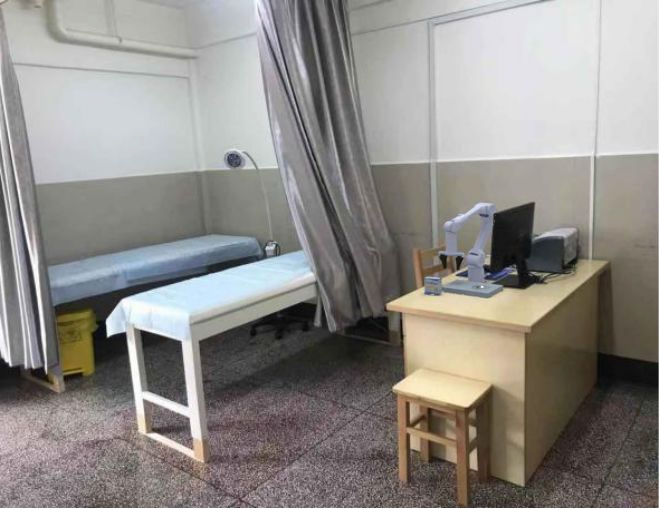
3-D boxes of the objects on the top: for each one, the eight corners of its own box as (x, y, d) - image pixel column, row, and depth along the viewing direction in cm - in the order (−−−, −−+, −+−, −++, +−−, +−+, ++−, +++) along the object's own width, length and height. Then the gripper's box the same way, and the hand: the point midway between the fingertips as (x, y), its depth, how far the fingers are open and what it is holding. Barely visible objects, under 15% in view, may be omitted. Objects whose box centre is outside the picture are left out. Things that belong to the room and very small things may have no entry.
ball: (482, 284, 282) (487, 286, 279) (481, 291, 282) (486, 292, 280) (477, 284, 280) (483, 286, 277) (476, 291, 280) (482, 293, 278)
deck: (440, 291, 285) (440, 286, 285) (457, 284, 299) (457, 279, 298) (488, 298, 269) (488, 293, 268) (503, 290, 282) (503, 285, 281)
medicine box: (424, 294, 281) (424, 278, 280) (427, 292, 285) (426, 276, 284) (439, 295, 278) (439, 279, 276) (441, 293, 282) (441, 277, 280)
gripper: (435, 244, 289) (435, 269, 292) (460, 246, 280) (460, 272, 283) (441, 242, 295) (442, 266, 297) (466, 244, 285) (466, 269, 288)
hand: (451, 269), depth 290 cm, fingers open, 7 cm apart
